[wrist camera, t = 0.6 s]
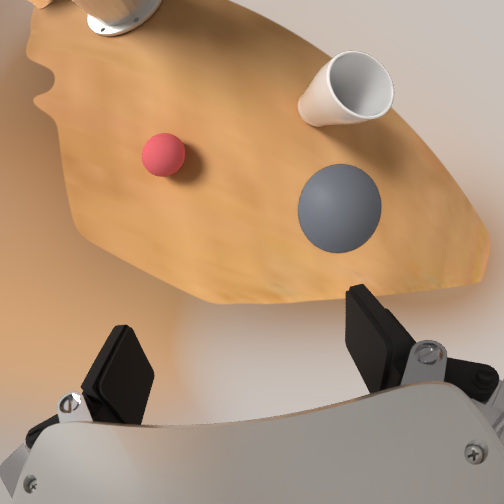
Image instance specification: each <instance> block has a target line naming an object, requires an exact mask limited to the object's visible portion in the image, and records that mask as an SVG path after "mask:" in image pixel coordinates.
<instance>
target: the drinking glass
mask: <svg viewBox="0 0 504 504" xmlns="http://www.w3.org/2000/svg"><path fill="white" fill-rule="evenodd" d="M393 99H394V87H393V82H392V80H391V77H390V75H389V73H388V72H387V70H386V69H385V67H384V66H383V65H382V64H381V63H380V62H379V61H378V60H376V59H375V58H373V57H372V56H370V55H368V54H366V53H363V52H359V51H346V52H342V53H340V54H338V55H336V56H335V57H334V58H332V59H331V60H330V61H328V62H327V63H326V64H325V65H324V66H323V67H322V68H321V69H320V70H319V71H318V72H317V74H316V75H315V77H314V78H313V80H312V81H311V83H310V84H309V86H308V88H307V89H306V91H305V92H304V93H303V94H302V95H301V97H300V98H299V100H298V112H299V114H300V116H301V118H302V119H303V120H304V121H305V122H306V123H308V124H310V125H312V126H317V127H321V126H326V125H342V124H356V123H362V122H366V121H370V120H373V119H376V118H379V117H381V116H383V115H384V114H385V113H387V112H388V110H389V109H390V107H391V106H392V103H393Z"/></svg>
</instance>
